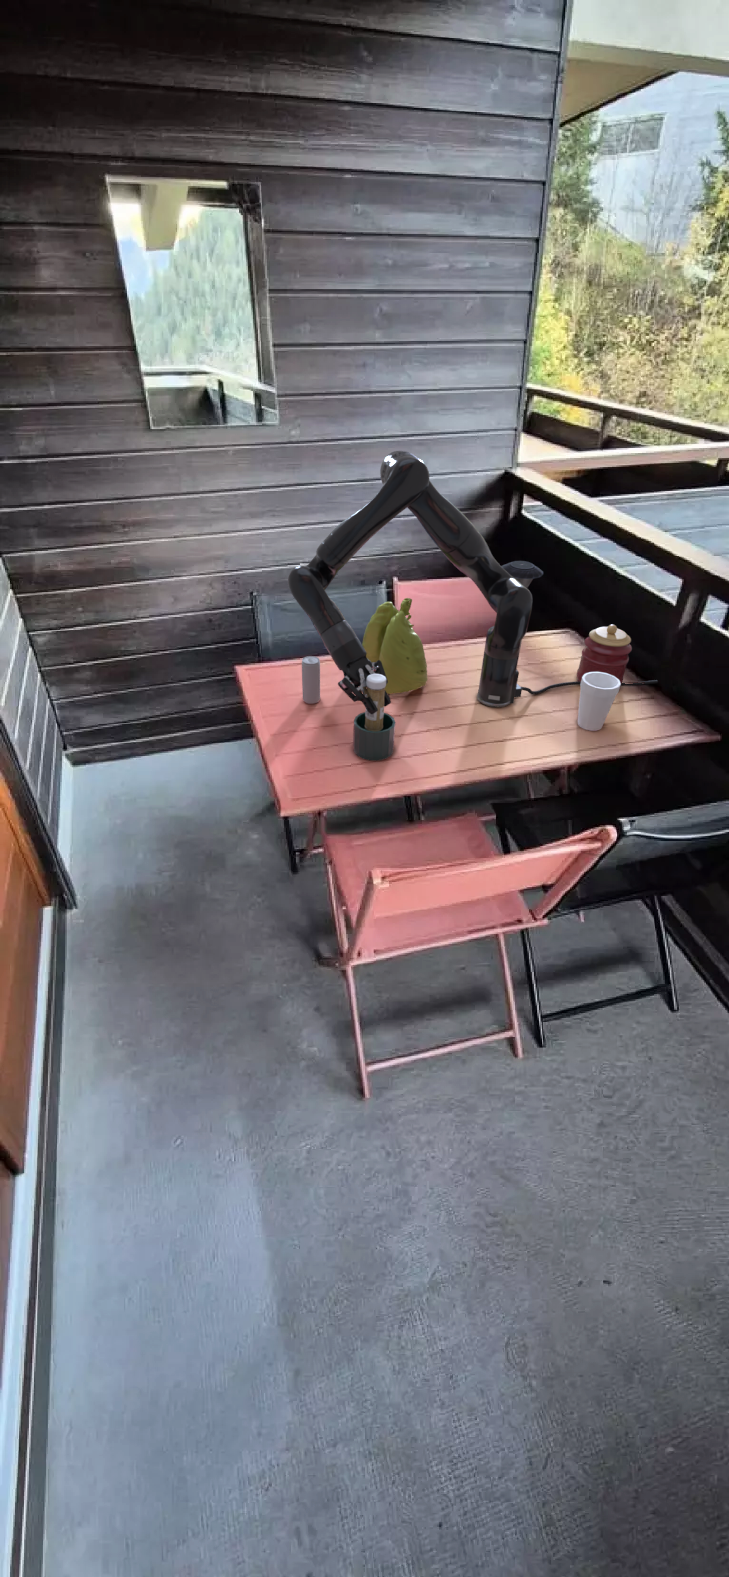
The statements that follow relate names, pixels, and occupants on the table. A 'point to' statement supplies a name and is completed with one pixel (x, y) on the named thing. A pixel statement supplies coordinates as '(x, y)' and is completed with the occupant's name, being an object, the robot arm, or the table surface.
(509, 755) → the table surface
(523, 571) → the solar garden light
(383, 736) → the cup
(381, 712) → the sprinkles bottle
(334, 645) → the robot arm
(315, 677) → the beverage can
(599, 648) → the kitchen canister
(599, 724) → the foam cup
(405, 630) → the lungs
